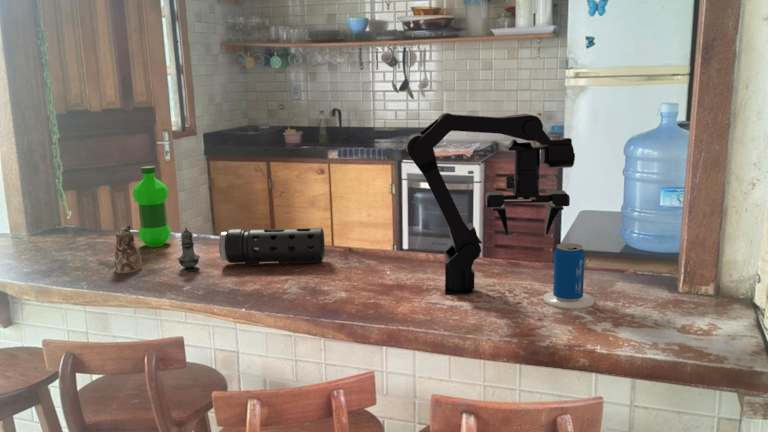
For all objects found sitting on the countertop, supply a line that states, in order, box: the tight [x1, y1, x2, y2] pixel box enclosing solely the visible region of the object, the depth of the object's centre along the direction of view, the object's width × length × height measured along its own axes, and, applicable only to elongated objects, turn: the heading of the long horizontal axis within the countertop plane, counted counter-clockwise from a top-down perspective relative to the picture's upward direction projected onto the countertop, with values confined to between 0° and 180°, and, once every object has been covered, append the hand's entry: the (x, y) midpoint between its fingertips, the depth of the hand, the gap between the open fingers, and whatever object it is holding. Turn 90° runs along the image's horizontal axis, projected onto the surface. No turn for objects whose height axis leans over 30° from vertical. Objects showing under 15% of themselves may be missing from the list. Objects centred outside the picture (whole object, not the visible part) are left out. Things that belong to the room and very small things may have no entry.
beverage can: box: [552, 242, 586, 302], centre depth 147 cm, size 6×6×12 cm
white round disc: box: [543, 291, 595, 310], centre depth 148 cm, size 11×11×1 cm
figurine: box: [114, 225, 143, 274], centre depth 183 cm, size 7×7×12 cm
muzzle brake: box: [218, 227, 326, 266], centre depth 184 cm, size 10×28×10 cm, turn 89°
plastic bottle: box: [132, 165, 172, 248], centre depth 208 cm, size 10×10×25 cm
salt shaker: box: [177, 227, 201, 274], centre depth 180 cm, size 6×6×12 cm
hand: (526, 234), depth 156 cm, fingers open, 9 cm apart
